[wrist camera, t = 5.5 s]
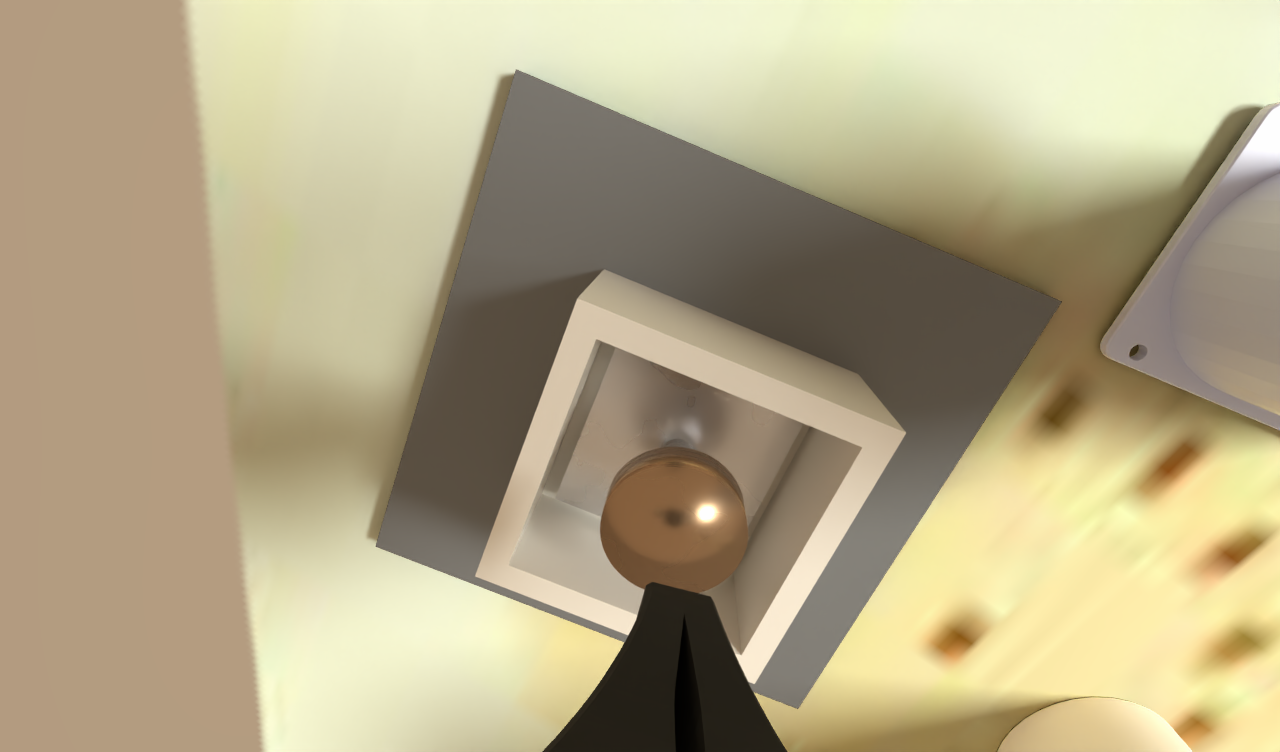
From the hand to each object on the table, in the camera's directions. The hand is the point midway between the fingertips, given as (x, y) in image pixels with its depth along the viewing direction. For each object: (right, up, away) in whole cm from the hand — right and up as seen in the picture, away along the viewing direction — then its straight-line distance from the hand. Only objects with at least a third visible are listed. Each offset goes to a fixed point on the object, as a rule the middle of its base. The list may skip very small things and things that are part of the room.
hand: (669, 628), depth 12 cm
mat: (+1, +3, +9) cm, 10 cm away
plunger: (+1, +3, +8) cm, 8 cm away
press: (+1, +3, +9) cm, 9 cm away
